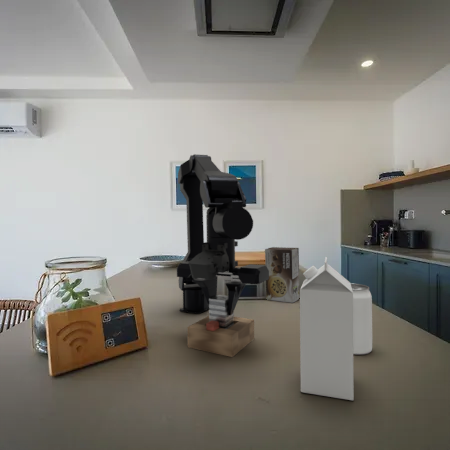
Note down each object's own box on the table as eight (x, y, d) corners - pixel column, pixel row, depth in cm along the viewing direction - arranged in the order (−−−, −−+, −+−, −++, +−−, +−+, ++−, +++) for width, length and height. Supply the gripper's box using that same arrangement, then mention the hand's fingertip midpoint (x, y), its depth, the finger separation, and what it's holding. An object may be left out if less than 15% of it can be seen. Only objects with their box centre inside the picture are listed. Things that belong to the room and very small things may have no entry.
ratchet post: (209, 338, 63) (208, 298, 63) (218, 332, 66) (218, 294, 66) (225, 341, 61) (225, 300, 61) (234, 335, 64) (233, 296, 64)
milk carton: (350, 377, 49) (350, 257, 49) (353, 402, 43) (352, 263, 42) (304, 370, 52) (303, 255, 51) (300, 393, 45) (299, 261, 45)
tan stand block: (187, 347, 62) (187, 320, 62) (213, 331, 71) (213, 308, 70) (232, 357, 57) (232, 328, 57) (254, 338, 66) (254, 314, 66)
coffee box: (300, 298, 98) (299, 247, 98) (293, 303, 93) (292, 249, 93) (273, 295, 103) (272, 246, 103) (265, 299, 98) (264, 248, 97)
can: (376, 357, 56) (375, 290, 56) (338, 354, 58) (338, 289, 57) (367, 343, 63) (367, 283, 62) (333, 341, 64) (333, 282, 64)
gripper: (158, 238, 61) (159, 318, 61) (245, 240, 52) (246, 334, 52) (191, 235, 71) (192, 304, 71) (269, 236, 62) (270, 315, 62)
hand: (221, 313), depth 64 cm, fingers closed on ratchet post, 4 cm apart
